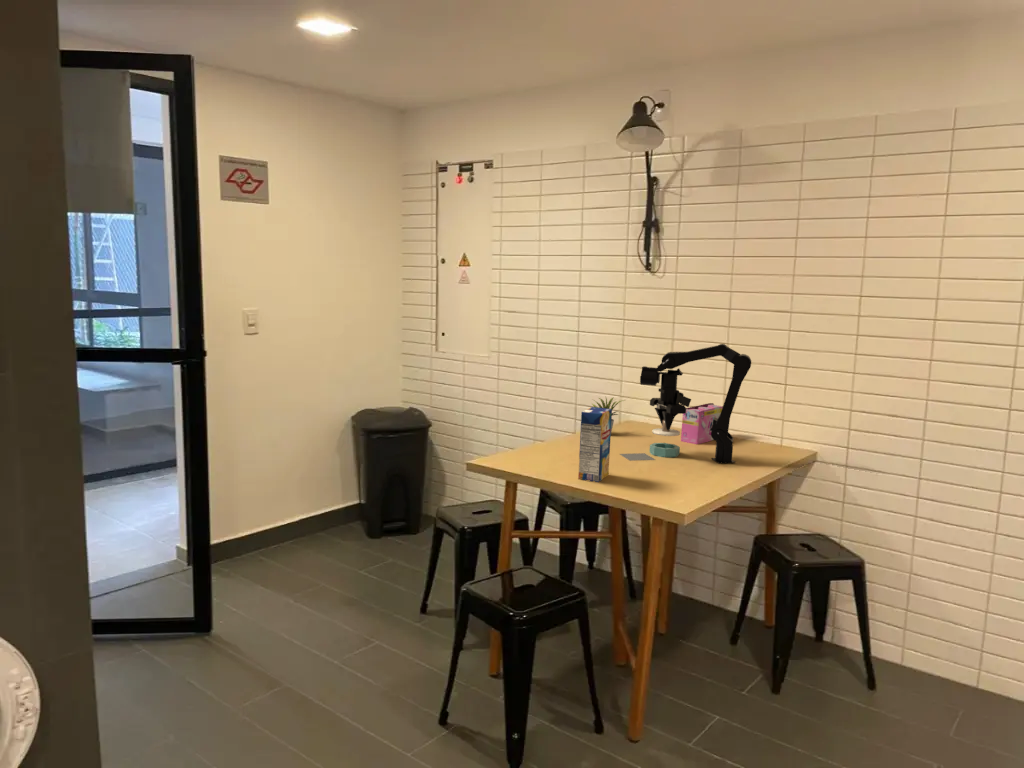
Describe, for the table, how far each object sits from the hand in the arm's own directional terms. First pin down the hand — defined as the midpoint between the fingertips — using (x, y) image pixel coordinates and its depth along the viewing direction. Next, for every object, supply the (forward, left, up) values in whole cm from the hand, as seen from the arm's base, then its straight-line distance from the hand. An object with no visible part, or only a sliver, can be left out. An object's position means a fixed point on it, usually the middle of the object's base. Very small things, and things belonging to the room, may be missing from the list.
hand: (666, 428), depth 280 cm
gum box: (+26, -29, -10) cm, 40 cm away
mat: (-3, +12, -10) cm, 16 cm away
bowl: (0, 0, -10) cm, 10 cm away
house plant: (+38, +8, -10) cm, 40 cm away
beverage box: (-26, +37, -10) cm, 46 cm away
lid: (0, 0, -2) cm, 2 cm away
